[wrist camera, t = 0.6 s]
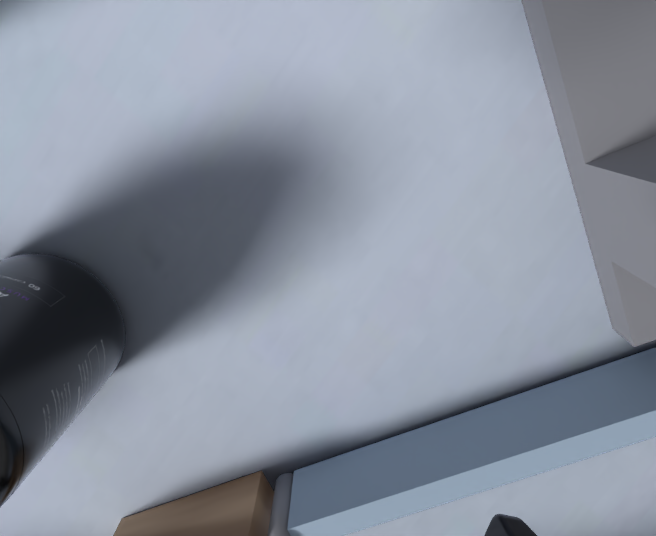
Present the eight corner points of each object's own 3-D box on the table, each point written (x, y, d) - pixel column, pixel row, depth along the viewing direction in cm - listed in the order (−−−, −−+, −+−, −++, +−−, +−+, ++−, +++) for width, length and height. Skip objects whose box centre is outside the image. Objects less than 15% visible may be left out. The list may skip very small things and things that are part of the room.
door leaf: (671, 365, 22) (739, 420, 19) (282, 495, 25) (272, 567, 21) (665, 342, 22) (734, 394, 18) (271, 477, 25) (259, 547, 21)
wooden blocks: (762, 338, 22) (909, 423, 16) (141, 546, 27) (88, 668, 21) (755, 299, 22) (905, 373, 16) (121, 518, 26) (61, 636, 20)
